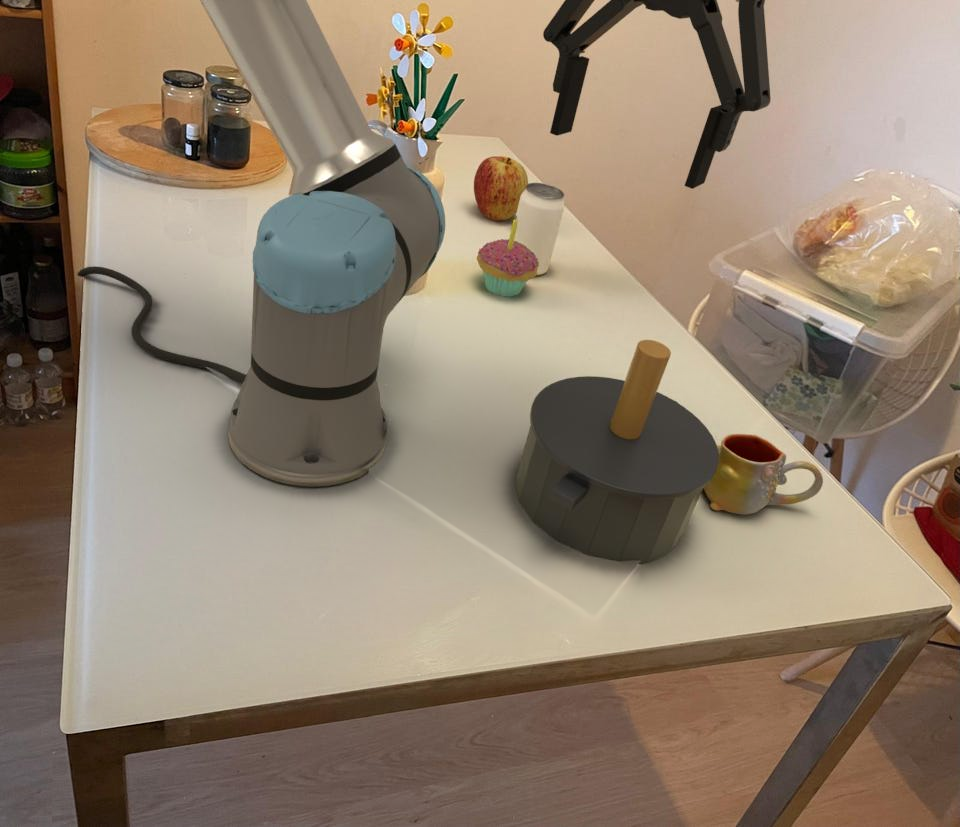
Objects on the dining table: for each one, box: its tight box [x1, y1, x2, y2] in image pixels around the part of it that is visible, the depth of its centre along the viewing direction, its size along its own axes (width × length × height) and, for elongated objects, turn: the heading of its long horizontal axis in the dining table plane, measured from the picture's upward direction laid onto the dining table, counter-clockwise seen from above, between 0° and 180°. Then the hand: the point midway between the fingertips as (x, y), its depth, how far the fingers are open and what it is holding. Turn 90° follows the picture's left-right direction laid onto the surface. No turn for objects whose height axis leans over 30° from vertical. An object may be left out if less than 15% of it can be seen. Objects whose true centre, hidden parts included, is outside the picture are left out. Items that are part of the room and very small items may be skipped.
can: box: [514, 182, 565, 277], centre depth 123 cm, size 6×6×12 cm
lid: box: [529, 339, 719, 499], centre depth 77 cm, size 18×18×10 cm
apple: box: [473, 155, 529, 222], centre depth 137 cm, size 9×9×10 cm
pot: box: [514, 401, 704, 565], centre depth 82 cm, size 17×22×8 cm
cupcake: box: [476, 214, 539, 297], centre depth 115 cm, size 9×8×12 cm
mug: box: [703, 433, 824, 516], centre depth 87 cm, size 12×7×7 cm, turn 84°
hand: (625, 158), depth 75 cm, fingers open, 13 cm apart
